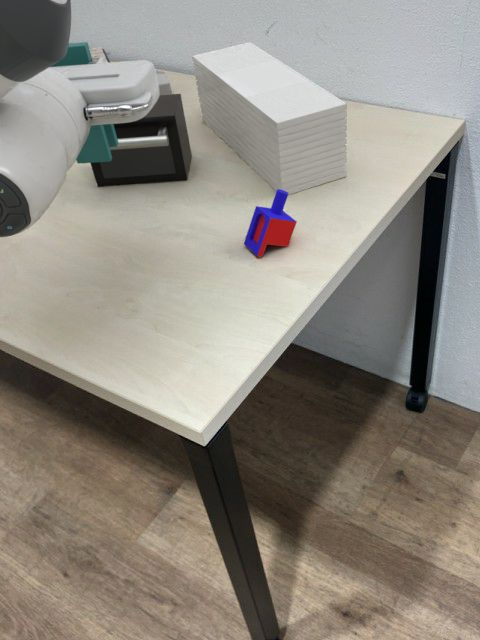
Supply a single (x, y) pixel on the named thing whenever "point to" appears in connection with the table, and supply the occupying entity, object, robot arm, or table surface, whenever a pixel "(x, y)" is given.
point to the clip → (99, 134)
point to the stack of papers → (273, 117)
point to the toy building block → (270, 226)
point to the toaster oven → (149, 148)
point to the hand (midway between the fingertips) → (75, 67)
